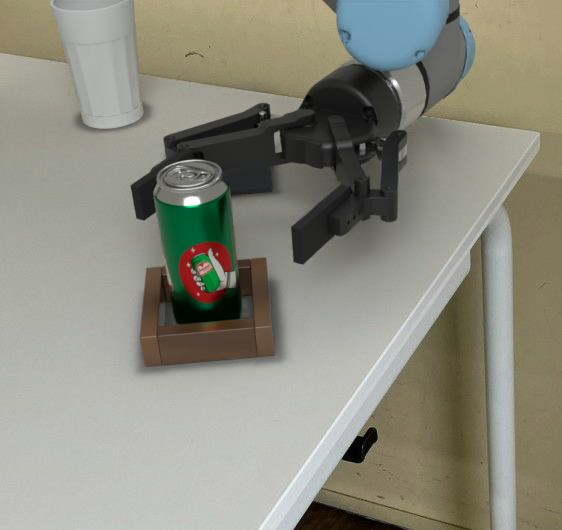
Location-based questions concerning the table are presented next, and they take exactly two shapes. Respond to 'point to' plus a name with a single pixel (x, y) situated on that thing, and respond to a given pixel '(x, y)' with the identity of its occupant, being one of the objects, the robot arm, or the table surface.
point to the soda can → (198, 242)
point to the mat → (249, 179)
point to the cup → (101, 59)
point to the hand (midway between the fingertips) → (213, 224)
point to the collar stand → (206, 323)
